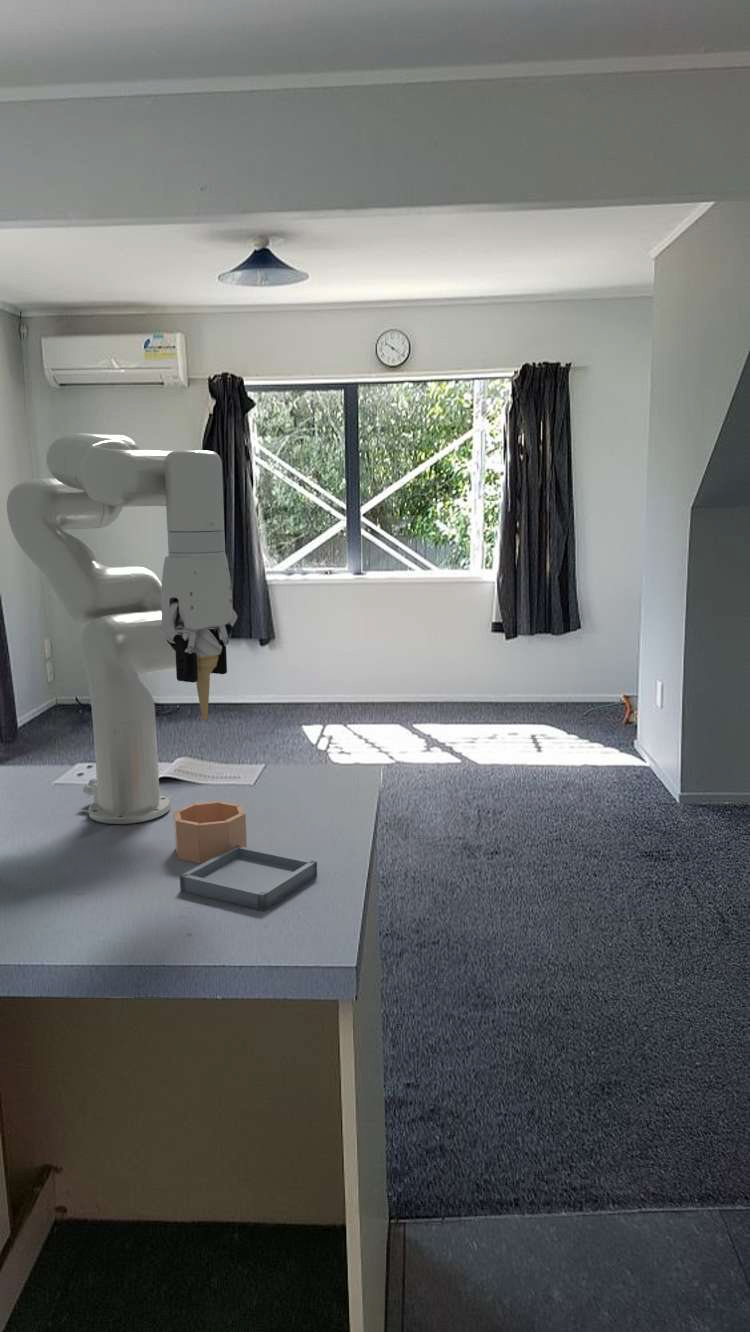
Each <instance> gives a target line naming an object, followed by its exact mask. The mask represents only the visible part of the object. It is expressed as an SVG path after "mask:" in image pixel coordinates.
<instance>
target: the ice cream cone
mask: <svg viewBox="0 0 750 1332" xmlns="http://www.w3.org/2000/svg"><path fill="white" fill-rule="evenodd" d="M185 641H186V640H185ZM221 650H222V646H221V645H220V644H219V642H218V641H217V639H216V638H215V637H214V635H213V634H212V633H211V632H210V630H209V629H204V630H199V631H197V632H196V637H195V643H194V648H193V652H194V653H196V654H197V671H198V680H197V682H195V684H196V691H197V695H198V702H199V708H200V709H199V710H200V714H201V719H202V722H203V723H206V722H207V721H208V718H209V701H210V699H209V698H210V696H209V695H210V682H211V678H210V677H211V674H212V673H211V672H212V671H213V669H214V668H215V667H216V666H217V665H216V664H217V661H218V658H219V657H218V655H220V654H221Z"/></svg>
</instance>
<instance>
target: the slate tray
mask: <svg viewBox="0 0 750 1332" xmlns="http://www.w3.org/2000/svg"><path fill="white" fill-rule="evenodd" d="M317 877H318V862H317V861H315V860H310V859H306V858H301V857H297V856H291V855H287V854H282V853H277V852H272V851H267V850H263V849H257V848H252V847H248V846H247V847H244V846H239V845H237V846H235V847H233V848H231V849H229V850H227V851H225V852H224V853H222V854H220V855H218V856H216V857H214V858H212V859H210V860H208V861H207V862H205V863H202V864H201V863H200V864H199V865H197V866H195V867H194V868H191V869H189V870H188V871H186V872H183V873H182V874H180V875H179V884H180V885H179V887H180V888H179V889H180V891H181V892H184V893H190V894H193V895H197V896H201V897H204V898H210V899H213V900H217V901H221V902H226V903H230V904H234V905H237V906H241V907H242V906H243V907H246V908H250V909H253V910H254V909H255V910H259V911H261V912H264V911H266V910H267V909H269V908H271V907H272V906H274V905H275V904H276V903H278V902H280V901H282V900H283V899H284V898H286V897H287V896H289V895H291V894H292V893H293V892H296V891H297V890H298V889H299V888H301V887H302V886H304V885H305V884H307V883H309V882H310V881H312V880H313V879H315V878H317Z"/></svg>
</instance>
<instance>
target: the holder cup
mask: <svg viewBox="0 0 750 1332" xmlns="http://www.w3.org/2000/svg"><path fill="white" fill-rule="evenodd" d="M246 817H247V816H246V812H245V809H244V808H243V805H242V804H239V803H232V802H227V801H221V800H217V801H206V802H196V803H195V802H194V803H191V804H187V805H186V806H183V807H181V808H180V809H177V810H174V811H173V819H174V820H173V822H174V823H173V824H174V837H175V838H174V839H175V841H174V842H175V851H176V855H177V856H176V857H177V859H178V860H181V861H185V862H186V861H187V862H190V863H195V864H199V865H201V864H203V863H205V862H207V861H208V860H210V859H212V858H214V857H216V856H218V855H220V854H222V853H224V852H225V851H227V850H229V849H231V848H233V847H235V846H237V845H239V846H244V847H248V846H247V845H248V843H247V821H246Z"/></svg>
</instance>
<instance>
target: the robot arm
mask: <svg viewBox="0 0 750 1332" xmlns="http://www.w3.org/2000/svg"><path fill="white" fill-rule="evenodd" d="M46 465H47V468H48V470H49V471H50V474H51V475H52V477H44V478H43V477H42V478H35V479H33V478H32V479H29V480H26V481H25V480H24V481H22V482H20V483H18V484H16V485H14V487H12V489H11V490H10V492H9V493H8V495H7V499H6V513H7V519H8V524H9V527H10V529H11V532H12V535H13V536H14V539H15V541H16V543H17V544H18V546H19V548H21V550H22V552H23V553H24V554H25V555H26V556H27V557H28V559H29V560H30V561H31V562H32V563H33V564H34V565H35V566H36V567H37V568H38V569H39V570H40V572H41V573H42V574H43V575H44V577H45V579H46V580H47V582H48V583H49V585H50V587H51V589H52V591H53V593H55V595H56V598H57V599H58V600H59V601H60V604H61V605H62V607H63V608H64V610H65V611H66V614H67V615H68V617H69V618H71V620H72V621H73V622H74V623H75V624H76V625H78V626H79V627H82V628H83V630H82V632H81V634H80V640H79V641H80V642H79V643H80V644H79V645H80V652H81V657H82V660H83V664H84V667H85V671H86V677H87V681H88V688H89V695H90V704H91V714H92V715H91V716H92V718H91V719H92V728H93V729H92V730H93V742H94V743H93V744H94V758H95V760H94V761H95V769H96V771H95V773H96V774H95V775H96V778H91V779H89V781H88V784H87V785H85V786H84V787H83V789H82V792H83V793H84V795H89V796H90V795H92V796H93V802H92V804H91V805H89V806H88V817H89V818H90V819H91V820H94V821H95V822H98V823H102V824H108V825H126V824H138V823H142V822H148V821H150V820H155V819H157V818H159V817H161V816H163V815H165V814H167V813H168V812H169V811H170V809H171V801H170V799H169V798H168V797H166V796H165V795H162V794H160V793H161V792H160V779H159V760H158V759H159V758H158V757H159V756H158V743H157V725H156V723H157V722H156V707H155V702H154V698H153V696H152V694H151V692H150V691H149V689H148V688H147V686H145V684H144V683H143V682H142V681H141V679H140V677H139V675H142V674H146V673H150V672H157V671H163V670H170V669H174V668H175V670H176V671H175V672H176V680H177V681H178V682H183V683H184V682H185V683H196V682H197V680H198V671H197V654H196V653H194V652H193V648H194V643H195V637H196V632H197V631H199V630H204V629H209V630H210V632H211V633H212V634H213V635H214V637H215V638H216V639H217V641H218V642H219V644H220V645H221V646H222V650H221V654H220V655H218V657H219V658H218V661H217V664H216V665H217V666H216V667H215V668H214V669H213V671H212V672H211V674H216V675H217V674H218V675H225V674H227V672H228V665H227V662H228V660H227V658H228V657H227V645H228V644H229V641H230V639H229V637H230V634H231V632H232V630H233V627H234V625H235V623H236V622H237V619H238V614H237V613H236V611H235V609H234V607H233V593H232V592H233V590H232V583H231V582H232V581H231V576H230V569H229V562H228V557H227V554H226V539H225V538H226V537H225V513H224V512H225V509H224V486H223V485H224V483H223V482H224V480H223V462H222V459H221V456H220V455H219V454H218V453H217V452H216V451H211V450H204V449H203V450H200V449H194V450H193V449H185V450H183V449H182V450H181V449H180V450H161V449H160V450H159V449H157V450H155V449H154V450H151V449H140V448H139V446H138V445H137V444H136V442H135V441H134V440H133V439H132V438H130V437H128V436H126V435H122V434H115V433H114V434H111V433H110V434H109V433H84V432H83V433H80V432H77V433H76V432H75V433H69V434H65V435H61V436H60V437H58V438H56V439H55V440H54V441H53V442H52V443H51V444H50V446H49V447H48V450H47V452H46ZM157 506H158V507H159V506H160V507H166V508H165V509H166V512H165V513H166V531H167V551H168V555H167V556H165V557H164V561H163V567H162V576H161V577H162V578H160V577H159V576H158V575H157V574H156V573H155V572H154V571H153V570H150V569H149V568H147V567H144V566H141V565H140V566H139V565H128V566H127V565H126V566H123V565H122V566H107V565H103V564H101V563H100V561H99V560H98V559H97V557H96V556H95V553H93V551H92V550H91V548H89V547H88V545H87V544H85V543H84V542H83V541H81V540H80V539H79V538H77V537H75V536H74V535H72V534H70V533H68V532H66V530H87V529H89V530H90V529H92V530H93V529H103V528H105V527H107V526H110V525H112V524H113V523H114V522H115V521H116V519H117V518H118V517H119V515H120V513H121V512H122V510H123V509H124V507H125V508H130V507H131V508H132V507H134V508H135V507H157ZM185 640H186V641H185Z"/></svg>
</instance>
